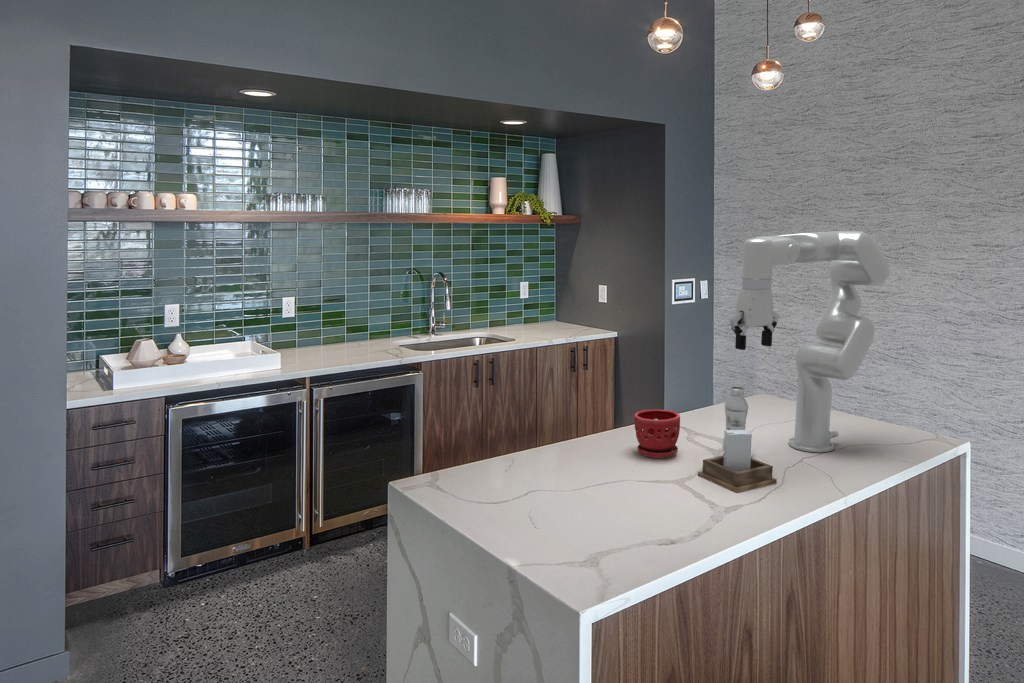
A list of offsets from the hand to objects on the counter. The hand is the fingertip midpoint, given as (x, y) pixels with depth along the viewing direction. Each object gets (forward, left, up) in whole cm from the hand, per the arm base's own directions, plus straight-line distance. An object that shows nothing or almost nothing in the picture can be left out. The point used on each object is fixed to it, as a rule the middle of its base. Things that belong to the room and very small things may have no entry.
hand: (753, 347), depth 195 cm
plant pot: (+17, -19, -33) cm, 42 cm away
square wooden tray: (+12, +8, -33) cm, 36 cm away
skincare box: (+12, +8, -32) cm, 35 cm away
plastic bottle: (-2, -7, -33) cm, 34 cm away
